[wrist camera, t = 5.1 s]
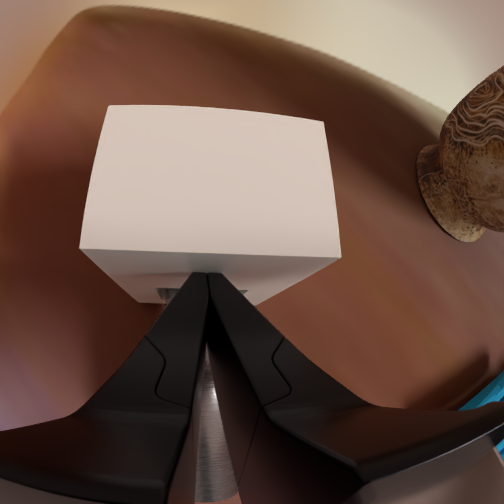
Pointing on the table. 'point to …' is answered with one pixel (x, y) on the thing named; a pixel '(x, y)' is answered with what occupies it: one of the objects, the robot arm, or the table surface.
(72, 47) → the table surface
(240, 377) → the robot arm
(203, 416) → the metal cylinder
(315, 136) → the white block
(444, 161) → the vase
